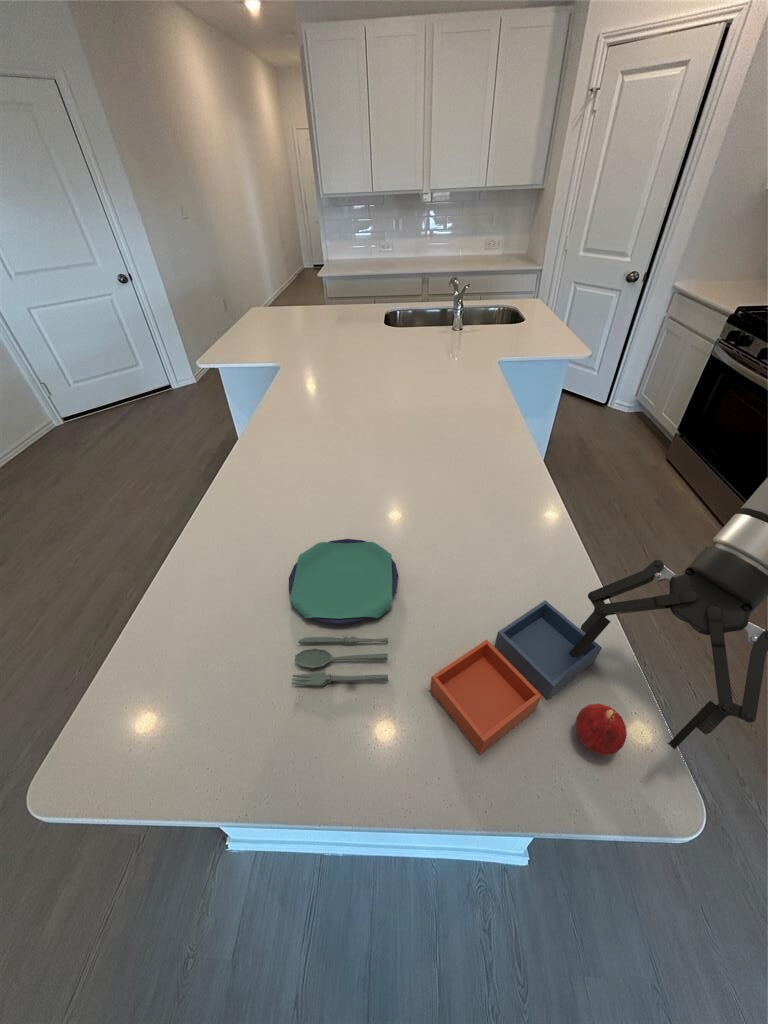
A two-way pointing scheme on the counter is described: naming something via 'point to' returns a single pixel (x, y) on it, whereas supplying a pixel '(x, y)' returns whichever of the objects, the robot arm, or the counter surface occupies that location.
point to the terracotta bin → (484, 694)
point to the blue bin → (545, 648)
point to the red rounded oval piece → (601, 729)
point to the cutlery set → (341, 598)
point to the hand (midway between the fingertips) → (618, 697)
